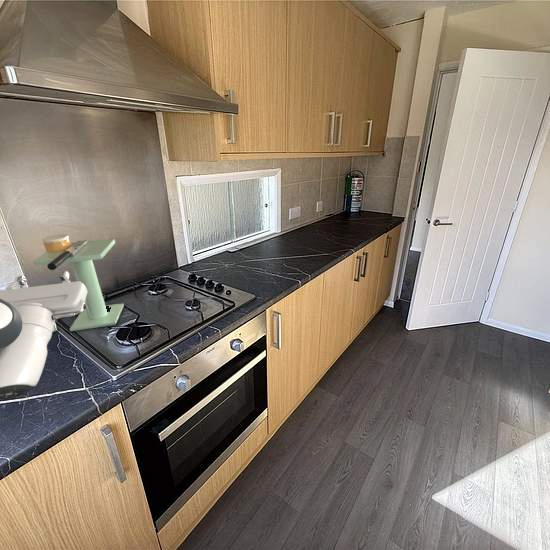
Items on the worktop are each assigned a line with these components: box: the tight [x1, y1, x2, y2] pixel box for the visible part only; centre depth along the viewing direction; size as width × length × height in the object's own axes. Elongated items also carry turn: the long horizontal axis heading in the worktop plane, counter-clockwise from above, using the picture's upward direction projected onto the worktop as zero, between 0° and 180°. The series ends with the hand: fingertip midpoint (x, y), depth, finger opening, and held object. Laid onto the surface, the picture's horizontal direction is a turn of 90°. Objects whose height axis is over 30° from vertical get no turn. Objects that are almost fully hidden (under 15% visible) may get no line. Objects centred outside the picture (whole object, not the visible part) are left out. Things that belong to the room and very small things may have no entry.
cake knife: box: [46, 239, 89, 271], centre depth 89 cm, size 25×3×2 cm, turn 15°
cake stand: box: [32, 233, 125, 332], centre depth 99 cm, size 18×18×30 cm
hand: (43, 275), depth 73 cm, fingers open, 8 cm apart
